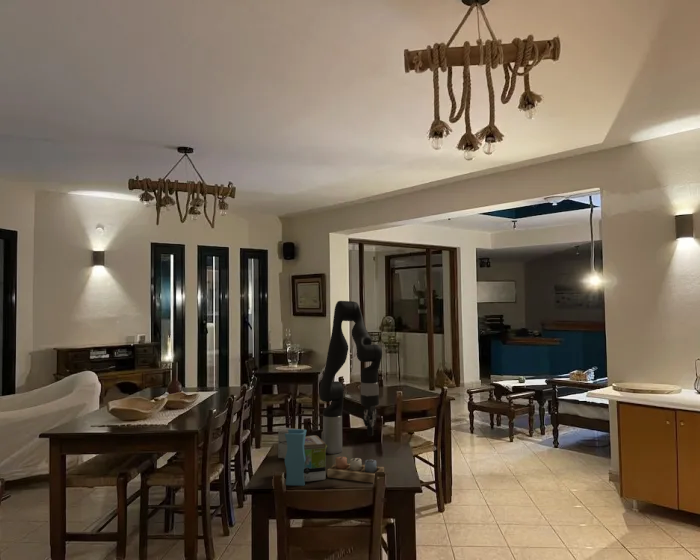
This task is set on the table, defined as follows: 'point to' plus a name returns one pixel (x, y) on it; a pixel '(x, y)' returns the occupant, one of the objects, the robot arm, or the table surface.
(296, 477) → the vase
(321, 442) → the tea box
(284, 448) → the supplement box
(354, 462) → the white rounded block
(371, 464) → the slate button
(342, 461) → the pink rounded block
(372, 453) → the table surface
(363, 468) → the button board
